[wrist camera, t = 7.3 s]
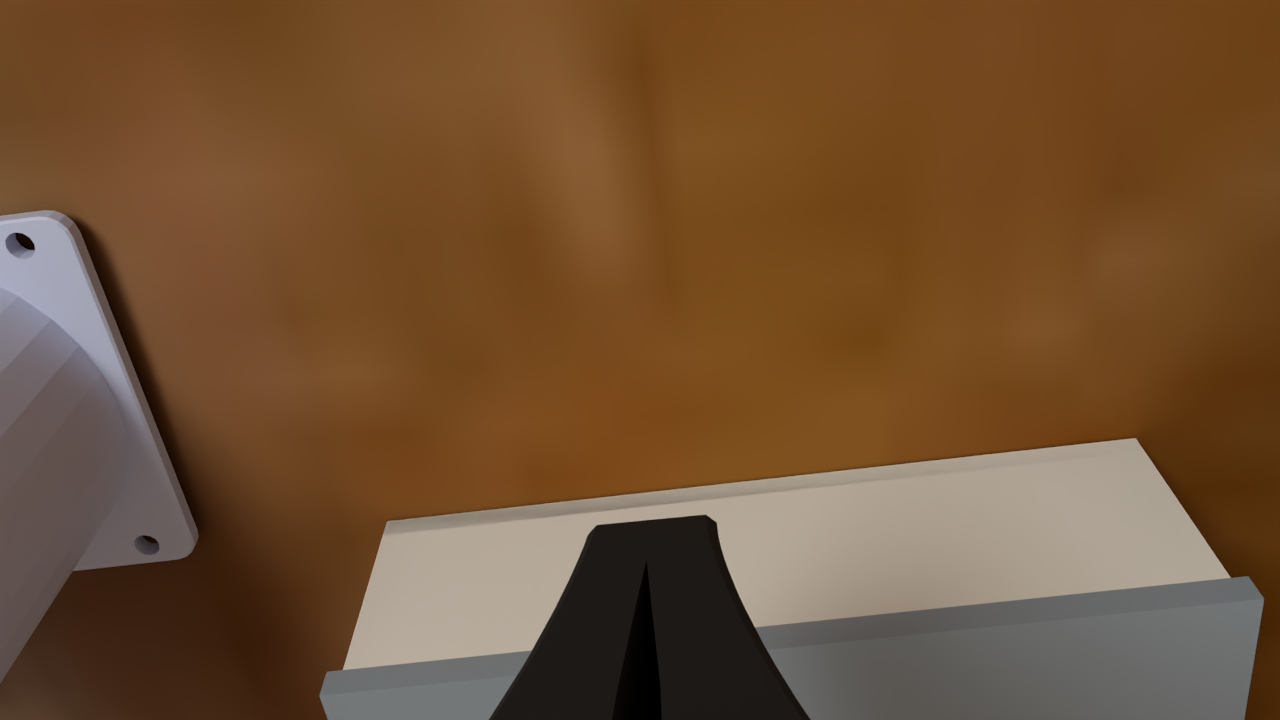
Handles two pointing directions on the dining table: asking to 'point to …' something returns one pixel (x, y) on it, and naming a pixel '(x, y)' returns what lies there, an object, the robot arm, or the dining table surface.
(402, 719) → the lid
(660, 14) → the dining table surface
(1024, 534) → the box
